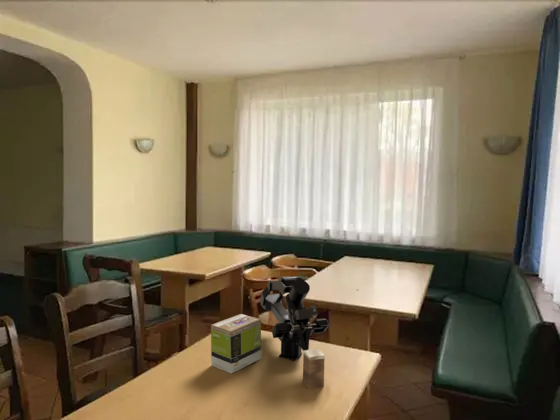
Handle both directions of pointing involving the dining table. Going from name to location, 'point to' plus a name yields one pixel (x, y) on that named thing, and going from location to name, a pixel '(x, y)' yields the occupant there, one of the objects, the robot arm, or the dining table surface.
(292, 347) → the robot arm
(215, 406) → the dining table surface
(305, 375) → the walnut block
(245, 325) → the tea box
